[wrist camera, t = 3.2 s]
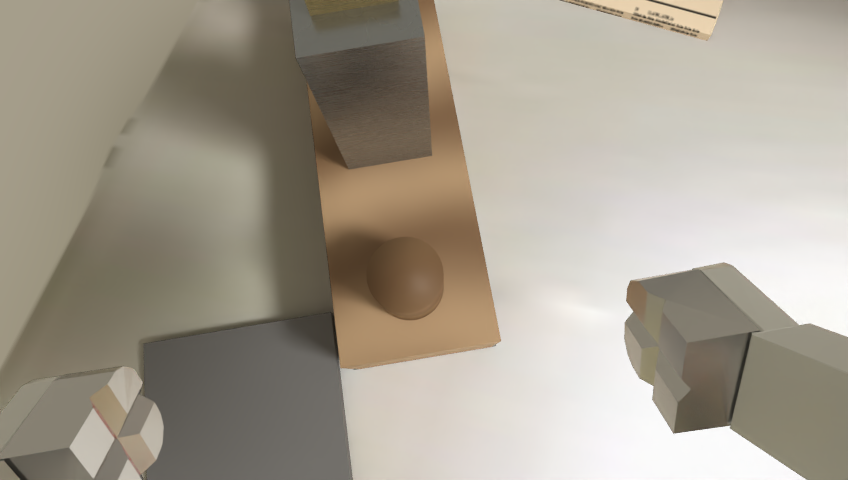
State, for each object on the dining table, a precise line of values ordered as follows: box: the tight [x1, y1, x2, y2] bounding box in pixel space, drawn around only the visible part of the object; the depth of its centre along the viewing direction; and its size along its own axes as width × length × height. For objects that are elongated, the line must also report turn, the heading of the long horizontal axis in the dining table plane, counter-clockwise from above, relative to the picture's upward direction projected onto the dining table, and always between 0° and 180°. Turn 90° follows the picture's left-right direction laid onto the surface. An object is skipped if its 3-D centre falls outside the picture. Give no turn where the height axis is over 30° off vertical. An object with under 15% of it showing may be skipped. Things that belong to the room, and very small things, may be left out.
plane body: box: [307, 0, 501, 370], centre depth 26 cm, size 22×7×9 cm, turn 9°
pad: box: [144, 312, 353, 480], centre depth 26 cm, size 10×10×1 cm
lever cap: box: [289, 0, 432, 170], centre depth 20 cm, size 4×4×10 cm
